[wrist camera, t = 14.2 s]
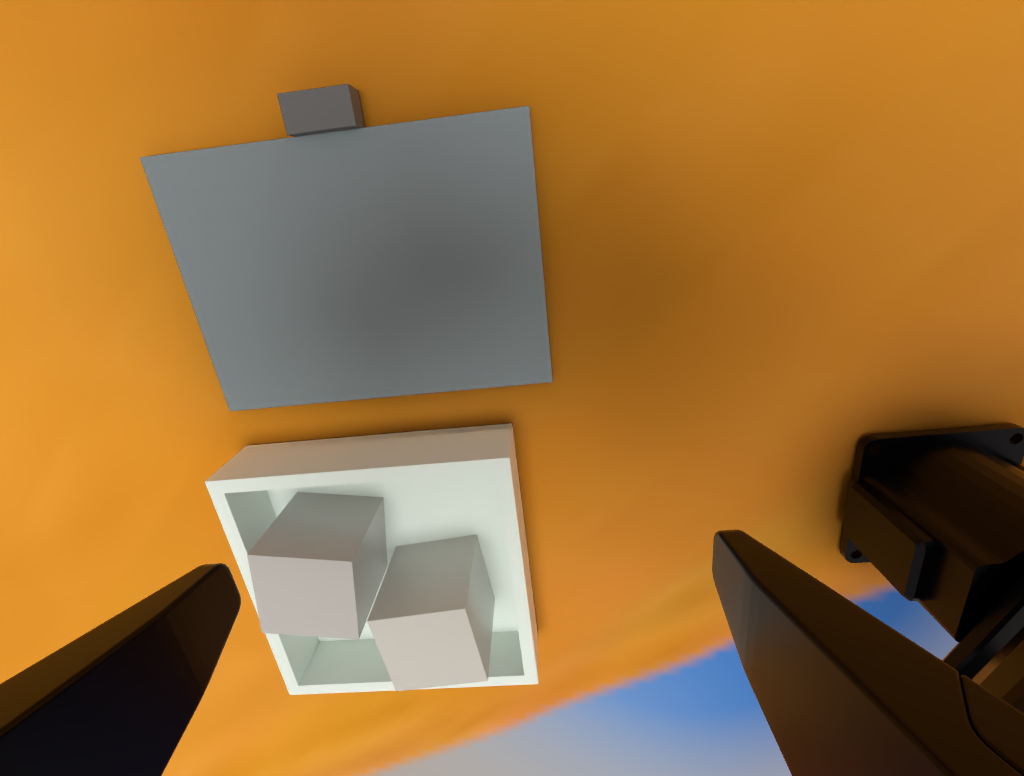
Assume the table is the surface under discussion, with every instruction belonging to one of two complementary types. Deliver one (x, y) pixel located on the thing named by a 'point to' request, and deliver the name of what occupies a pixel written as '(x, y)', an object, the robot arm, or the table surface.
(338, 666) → the tray
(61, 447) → the table surface
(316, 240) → the lid board
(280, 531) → the grey cube
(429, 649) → the light grey cube
